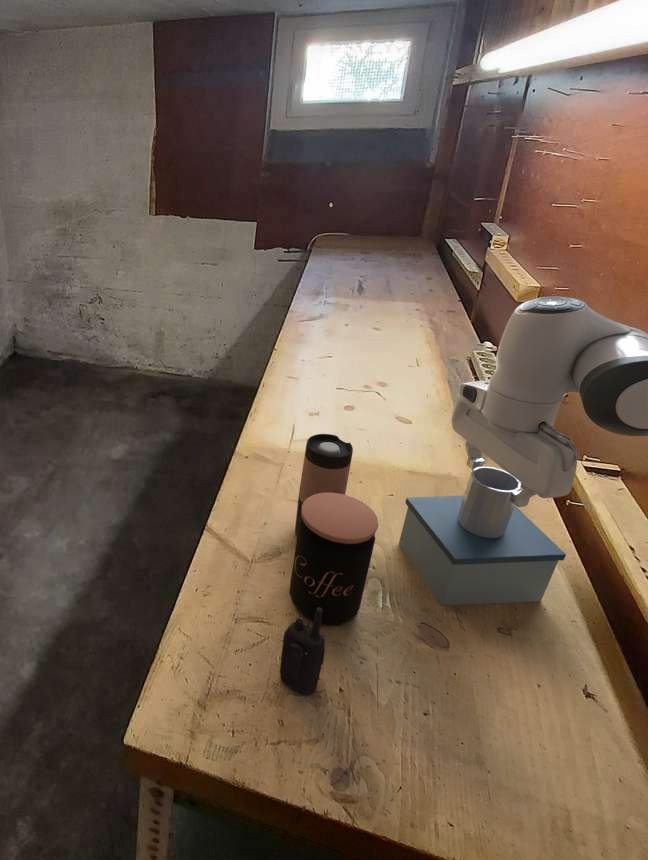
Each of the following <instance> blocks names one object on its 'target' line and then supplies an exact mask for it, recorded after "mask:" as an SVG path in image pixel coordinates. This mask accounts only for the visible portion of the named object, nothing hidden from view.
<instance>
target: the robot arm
mask: <svg viewBox="0 0 648 860" xmlns="http://www.w3.org/2000/svg"><path fill="white" fill-rule="evenodd" d="M495 360H496V361H495V362H496V367H495V370H494V372H493V374H492V375H491V377H490V378H489V379H485V380H484V379H483V380H474V381H467V382H462V383H460V385H459V389H458V393H459V395H460V396H458V398H456V401H455V402H454V403H455V404H454V407H453V410H452V414H451V419H450V423H451V427H452V430H453V431H454V432H455V433H457V434H458V435H459V436H460V437H462V438H463V439H464V440H465V443H464V444H465V450H466V454H467V461H466V466H467V467H468V468H470V469H471V471H472V470H473V469H474V468H476V467H483V466H484V464H485V459H484V458H482V453H483V454H484V455H485V456H486V457H487V458H489V459H490V460H491V461H493V463H495V464H496V465H498V466H499V467H501V468H502V470H504V471H506V472H508V473H510V474H511V475H512V476H514V477H515V478H516V479H518V480H519V481H520V482H521V486H520V487H521V490H520V491H519V492H516V491H515V492H512V493H511V498H510V499H509V500H510V501H511V502H512V503H513V504H515V506H516V507H517V508H523V507H524V508H525V507H527V506H528V505H529V502H530V499H531V498H533V497H534V496H536V495H537V496H538V497H540V498H542V499H554V498H561V497H564V496H568V495H569V494H570V493H571V491H572V488H573V485H574V481H575V477H576V472H577V467H578V459H579V450H577V447H576V445H575V444H574V443H573V442H574V441H573V439H572V438H571V437H570V436H568V435H566V434H565V433H561V432H560V431H559V430H557V429H556V428H555V427H554V425H555V423H556V420H557V417H558V414H559V411H560V408H561V406H562V402H563V400H564V396H565V395H567V394H568V393H577V394H579V396H580V399H581V403H582V408H583V411H584V412H585V415H586V416H587V417H588V418H589V420H590V421H591V422H592V423H594V424H595V425H596V426H598V427H599V428H601V429H603V430H605V431H607V432H610V433H612V434H616V435H621V436H628V437H648V332H645V331H643V330H642V329H640V328H638V327H635V326H631V325H628V324H623V323H621V322H617V321H615V320H613V319H610V318H607V317H606V316H604V315H602V314H600V313H599V312H597V311H595V310H594V309H593V308H591V307H590V306H588V304H587V303H586V302H584V301H583V300H582V299H581V300H580V299H577V298H574V297H566V296H565V297H564V296H542V297H537V298H533V299H530V300H527V301H524V302H523V303H521V304H519V305H518V306H517V307H516V308H515V309H514V311H513V312H512V313H511V315H510V317H509V319H508V321H507V323H506V325H505V328H504V330H503V333H502V335H501V339H500V341H499V345H498V349H497V352H496V356H495Z"/></svg>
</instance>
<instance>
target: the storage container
mask: <svg viewBox="0 0 648 860" xmlns="http://www.w3.org/2000/svg"><path fill="white" fill-rule="evenodd" d="M463 497H464V494H463V495H443V496H417V497H414V496H413V497H406V500H405V505H406V506H407V509H406V513H405V518H404V521H403V525H402V529H401V533H400V536H399V540H398V545H399V547H400V549H401V550H402V551H403V553H404V555H406V557H407V558H408V560H409V561H410V563H411V565H413V567H414V568H415V570H416V571H417V573H418V575H419V576H420V578H421V579H422V580H423V582H424V583H425V585H426V586H427V587H428V589H429V590H430V592H431V593H432V594H433V596H434V598H435V599H436V600H437V602H438V603H439V605H440V606H459V605H482V604H483V605H484V604H509V603H531V602H532V603H533V602H542V600H543V598H544V595H545V593H546V591H547V588H548V586H549V584H550V581H551V579H552V576H553V574H554V572H555V569H556V567H557V565H558V562H559V561H564V560H565V559H566V556H567V554H566V553H565V552H564V551H563V550H562V549H561V548H560V547H559V546H558V545H557V544H556V543H555V542H554V541H553V540H552V539H550V537H548V536H547V535H546V534H545V533H544V532H543V530H541V529H540V528H539V527H538V526H537V525H536V524H535V523H534V522H533V521H532V520H531V519H529V517H528V516H526V514H524V512H522V510H520V508H519V507H517V506H516V505H515V506H514V509H513V512H512V515H511V518H510V520H509V523H508V526H507V529H506V531H505V533H504V535H502V536H501V537H498V538H486V537H481V536H478V535H475V534H473V533H471V532H469V531H467V530H466V529H464V528H463V527H462V526H461V525H460V523H459V522H458V519H457V517H458V513H459V510H460V507H461V503H462V500H463Z"/></svg>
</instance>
